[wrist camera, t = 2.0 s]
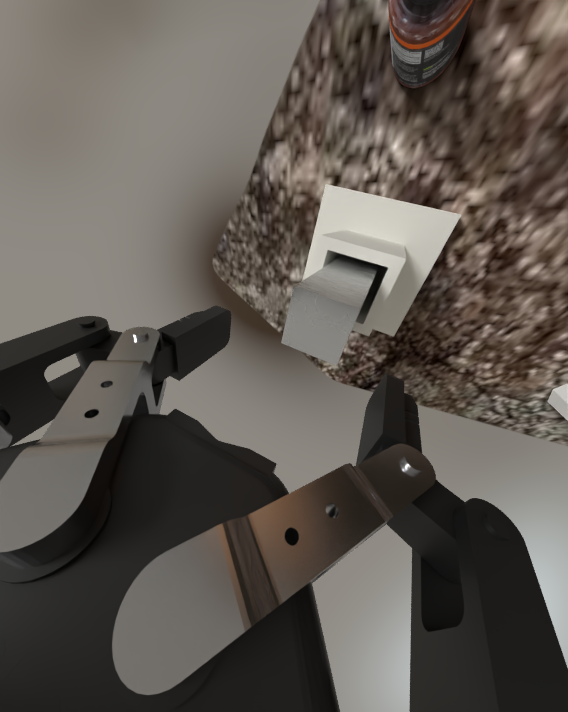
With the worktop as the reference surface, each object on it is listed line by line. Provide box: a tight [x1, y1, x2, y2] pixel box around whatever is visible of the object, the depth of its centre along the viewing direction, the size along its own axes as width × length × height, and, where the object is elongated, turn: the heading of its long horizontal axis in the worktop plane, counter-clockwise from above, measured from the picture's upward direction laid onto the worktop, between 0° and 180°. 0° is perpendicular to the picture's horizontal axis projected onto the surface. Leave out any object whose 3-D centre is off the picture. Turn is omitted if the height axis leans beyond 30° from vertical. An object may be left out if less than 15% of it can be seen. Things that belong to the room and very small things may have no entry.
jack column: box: [281, 255, 380, 366], centre depth 23 cm, size 4×4×22 cm
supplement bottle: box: [389, 0, 475, 88], centre depth 18 cm, size 6×6×11 cm
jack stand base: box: [303, 184, 461, 336], centre depth 27 cm, size 16×16×15 cm
